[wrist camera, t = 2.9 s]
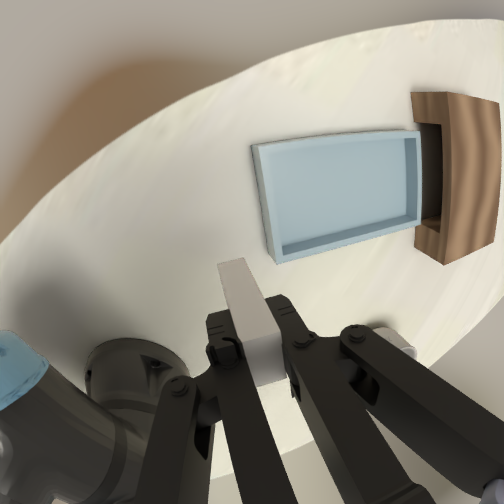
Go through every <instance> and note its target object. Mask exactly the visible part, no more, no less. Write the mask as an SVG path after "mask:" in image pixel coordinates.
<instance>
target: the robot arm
mask: <svg viewBox="0 0 504 504" xmlns="http://www.w3.org/2000/svg"><path fill="white" fill-rule="evenodd" d="M217 266H218V270H219V274H220V278H221V282H222V286H223V290H224V294H225V298H226V302H227V306H228V309H227V310H223V311H219V312H215V313H211V314H209V315H208V317H207V320H206V327H207V333H208V339H209V343H208V345H207V346H206V354H207V356H208V359H209V361H210V364H211V365H210V367H209V368H208V370H206V371H205V372H204V373H203V374H201V375H199V376H197V377H195V378H191V377H190V375H189V371H188V369H187V367H186V366H185V364H184V363H183V361H182V360H181V359H180V358H179V357H178V356H176V355H175V354H174V353H173V352H171V351H169V350H168V349H166V348H164V347H162V346H160V345H157V344H155V343H152V342H148V341H144V340H139V339H117V340H112V341H108V342H106V343H103V344H101V345H100V346H98V347H97V348H96V349H95V350H94V351H93V352H92V353H91V354H90V356H89V359H88V362H87V365H86V369H85V385H86V392H87V395H86V394H85V393H84V392H82V391H81V390H80V389H79V388H77V387H76V386H75V385H74V384H72V383H71V382H70V381H69V380H67V379H66V378H65V377H64V376H63V375H62V374H60V373H59V372H58V371H57V370H56V369H55V368H54V367H52V366H51V365H50V364H49V361H47V359H46V358H45V357H44V356H42V355H39V354H38V353H36V352H35V351H34V350H33V349H32V348H31V347H30V346H29V345H28V344H26V343H25V342H24V341H23V340H22V339H21V338H20V337H19V336H18V335H17V334H15V333H13V332H11V331H8V330H0V504H51V503H52V502H53V500H54V499H56V498H57V499H59V500H61V501H64V502H66V503H69V504H208V494H209V484H210V473H211V462H212V452H213V442H214V433H215V423H217V422H218V421H220V420H222V422H223V426H224V431H225V435H226V440H227V444H228V448H229V452H230V457H231V461H232V465H233V469H234V473H235V476H236V481H237V484H238V488H239V492H240V496H241V499H242V503H243V504H298V502H297V499H296V497H295V494H294V491H293V489H292V486H291V484H290V481H289V479H288V476H287V473H286V471H285V468H284V465H283V463H282V460H281V457H280V454H279V452H278V449H277V446H276V444H275V441H274V438H273V435H272V432H271V430H270V427H269V424H268V421H267V418H266V415H265V413H264V410H263V407H262V404H261V401H260V398H259V395H258V392H257V389H256V387H259V386H262V385H266V384H269V383H273V382H276V381H279V380H282V379H286V378H287V375H288V377H289V379H290V386H291V394H292V398H293V397H295V398H296V400H297V402H298V405H299V407H300V409H301V411H302V413H303V416H304V418H305V420H306V422H307V424H308V427H309V429H310V431H311V433H312V435H313V437H314V440H315V442H316V444H317V446H318V448H319V450H320V452H321V455H322V457H323V459H324V461H325V463H326V465H327V467H328V469H329V472H330V474H331V476H332V478H333V480H334V482H335V484H336V486H337V488H338V491H339V493H340V494H341V497H342V499H343V501H344V503H345V504H436V503H435V501H434V500H433V498H432V497H431V495H430V493H429V492H428V491H427V490H426V488H424V487H423V486H422V485H419V484H416V483H414V482H412V481H411V479H410V478H409V477H408V475H407V473H406V472H405V470H404V469H403V467H402V465H401V464H400V462H399V461H398V459H397V458H396V456H395V454H394V453H393V451H392V450H391V448H390V447H389V445H388V443H387V442H386V440H385V439H384V437H383V435H382V434H381V432H380V431H379V429H378V428H377V426H376V424H375V423H374V421H373V420H372V418H371V417H370V415H369V414H368V412H367V411H369V412H370V413H371V414H372V415H373V416H374V417H375V418H376V419H377V420H379V421H380V422H381V423H382V424H383V425H384V426H385V427H386V428H388V429H389V430H390V431H391V432H392V433H393V434H394V435H396V436H397V437H398V438H399V439H400V440H401V441H402V442H404V443H405V444H406V445H407V446H408V447H409V448H411V449H412V450H413V451H414V452H415V453H416V454H418V455H419V456H420V457H421V458H422V459H423V460H425V461H426V462H427V463H428V464H430V465H431V466H432V467H433V468H434V469H435V470H437V471H438V472H439V473H440V474H441V475H443V476H444V477H445V478H446V479H448V480H449V481H450V482H451V483H453V484H454V485H455V486H456V487H458V488H459V489H461V490H462V491H464V492H466V493H468V494H470V495H472V496H475V497H478V498H481V501H480V503H479V504H504V422H503V421H502V420H500V419H499V418H497V417H496V416H495V415H493V414H492V413H490V412H489V411H488V410H486V409H485V408H483V407H482V406H480V405H479V404H478V403H476V402H475V401H473V400H472V399H470V398H469V397H468V396H466V395H465V394H463V393H462V392H460V391H459V390H457V389H456V388H455V387H453V386H452V385H450V384H449V383H448V382H446V381H444V380H443V379H442V378H440V377H439V376H437V375H436V374H435V373H433V372H432V371H430V370H429V369H427V368H426V367H425V366H423V365H422V364H420V363H419V362H417V361H416V360H415V359H413V358H412V357H410V356H409V355H407V354H406V353H404V352H403V351H402V350H400V349H399V348H397V347H396V346H394V345H393V344H391V343H390V342H389V341H387V340H386V339H384V338H383V337H381V336H380V335H378V334H377V333H376V332H374V331H373V330H371V329H370V328H368V327H366V326H364V325H358V324H357V325H350V326H348V327H345V328H344V329H343V330H342V331H341V334H340V336H336V337H319V336H318V335H317V334H316V333H315V332H312V331H310V330H308V328H307V327H306V325H305V323H304V322H303V320H302V319H301V317H300V316H299V314H298V312H296V309H295V308H294V306H293V305H292V303H291V301H290V300H289V299H288V298H287V297H285V296H283V295H281V294H280V295H277V296H273V297H269V298H266V299H264V297H263V295H262V293H261V291H260V289H259V287H258V285H257V283H256V281H255V279H254V277H253V275H252V273H251V271H250V269H249V267H248V265H247V263H246V261H245V259H244V258H240V259H236V260H232V261H228V262H224V263H220V264H217ZM286 372H287V375H286Z"/></svg>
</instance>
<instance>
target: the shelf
mask: <svg viewBox="0 0 504 504" xmlns="http://www.w3.org/2000/svg"><path fill="white" fill-rule="evenodd" d="M411 99H412V108H413V117H414V122H421V123H433V124H441V127H442V145H443V197H442V214H441V215H438V216H434V217H431V218H427V219H424V220H421V225H418V226H416V230H415V244H414V247H415V248H417V249H418V250H420V251H421V252H423V253H425V254H426V255H428V256H430V257H431V258H433V259H434V260H436V261H438V262H439V263H441V264H442V265H446V264H449V263H451V262H453V261H455V260H457V259H460V258H462V257H464V256H466V255H468V254H470V253H472V252H474V251H477V250H479V249H481V248H483V247H485V246H487V245H489V244H491V243H493V242H494V237H495V230H496V223H497V216H498V207H499V197H500V184H501V122H500V109H499V103H497V102H493V101H489V100H485V99H481V98H476V97H472V96H467V95H462V94H457V93H451V92H413V93H411Z"/></svg>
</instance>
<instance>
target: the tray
mask: <svg viewBox="0 0 504 504" xmlns="http://www.w3.org/2000/svg"><path fill="white" fill-rule="evenodd" d="M251 149H252V155H253V161H254V167H255V172H256V178H257V184H258V191H259V197H260V203H261V209H262V215H263V221H264V227H265V234H266V240H267V246H268V253H269V255H270V256H271V257H272V259H273V260H274V262H275V263H276V264H281V263H284V262H288V261H292V260H296V259H299V258H303V257H307V256H311V255H314V254H318V253H322V252H325V251H329V250H333V249H336V248H340V247H343V246H347V245H351V244H354V243H358V242H361V241H365V240H369V239H372V238H376V237H379V236H383V235H386V234H390V233H393V232H397V231H400V230H404V229H407V228H411V227H414V226H418V225H421V206H422V159H421V138H420V131H414V130H381V131H364V132H351V133H339V134H329V135H320V136H311V137H303V138H296V139H289V140H282V141H275V142H269V143H263V144H257V145H251Z"/></svg>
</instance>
